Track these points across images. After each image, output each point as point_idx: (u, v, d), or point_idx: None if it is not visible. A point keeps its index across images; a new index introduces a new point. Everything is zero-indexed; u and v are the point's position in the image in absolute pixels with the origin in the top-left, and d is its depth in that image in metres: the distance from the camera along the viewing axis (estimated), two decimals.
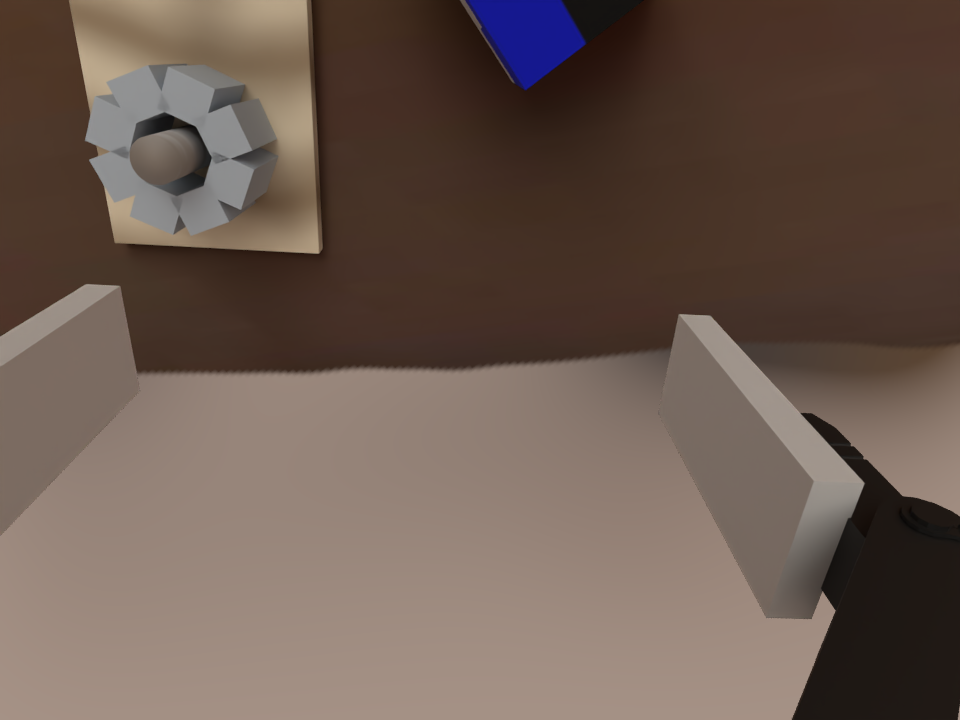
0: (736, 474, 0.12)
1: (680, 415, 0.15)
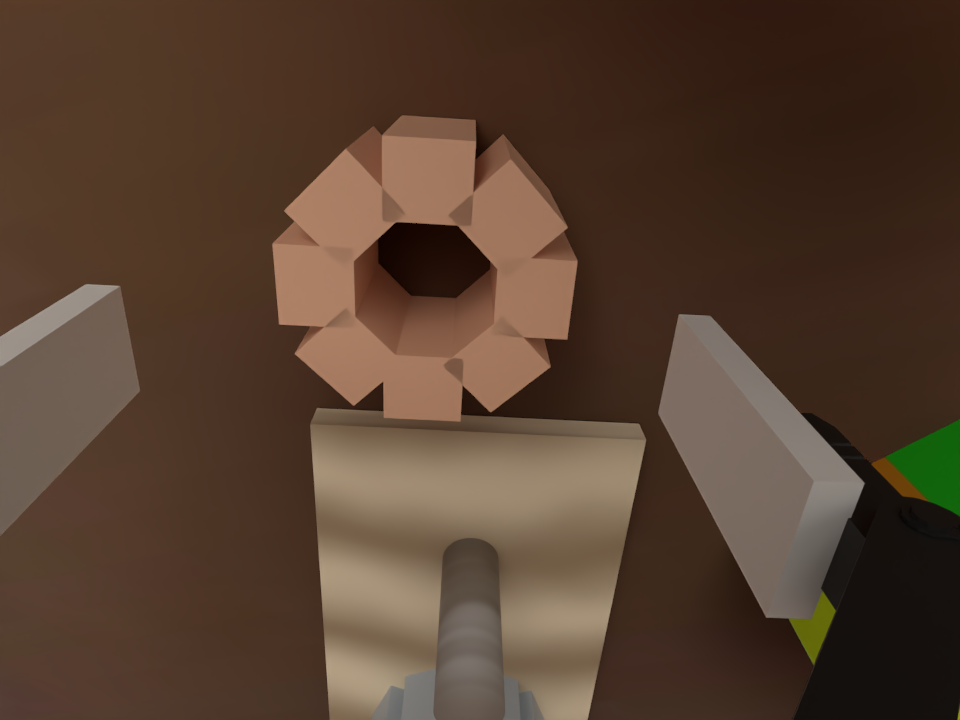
0: (736, 474, 0.12)
1: (680, 415, 0.15)
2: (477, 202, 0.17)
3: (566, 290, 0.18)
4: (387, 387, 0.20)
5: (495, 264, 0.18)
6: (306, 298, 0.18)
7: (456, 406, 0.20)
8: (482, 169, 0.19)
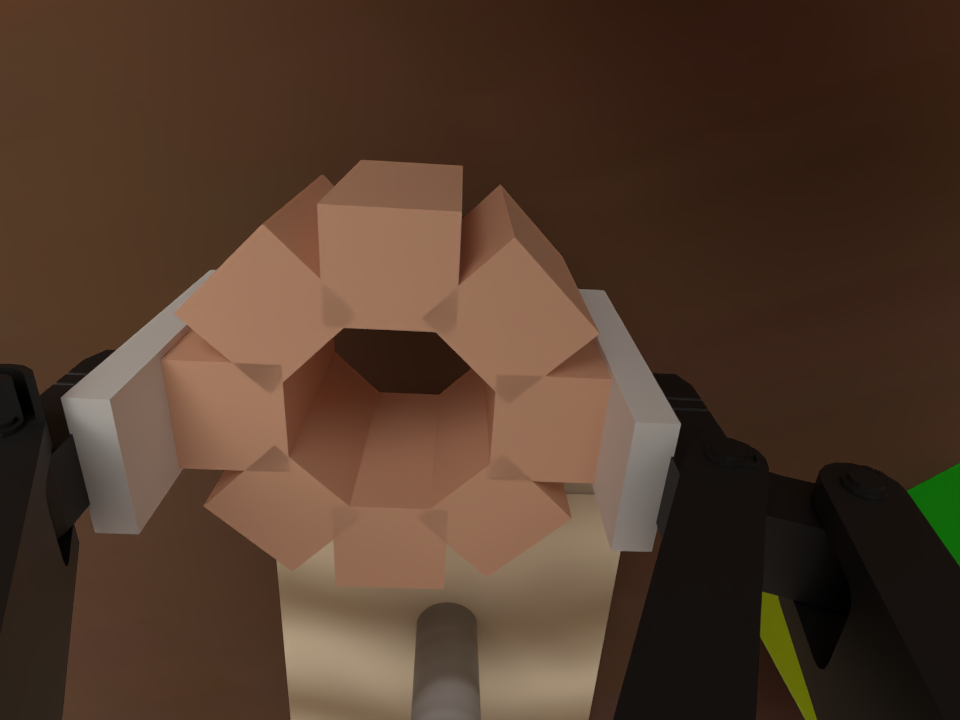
0: None
1: None
2: (465, 299, 0.11)
3: (595, 419, 0.12)
4: (339, 548, 0.14)
5: (492, 385, 0.12)
6: (214, 432, 0.12)
7: (438, 570, 0.14)
8: (472, 241, 0.13)
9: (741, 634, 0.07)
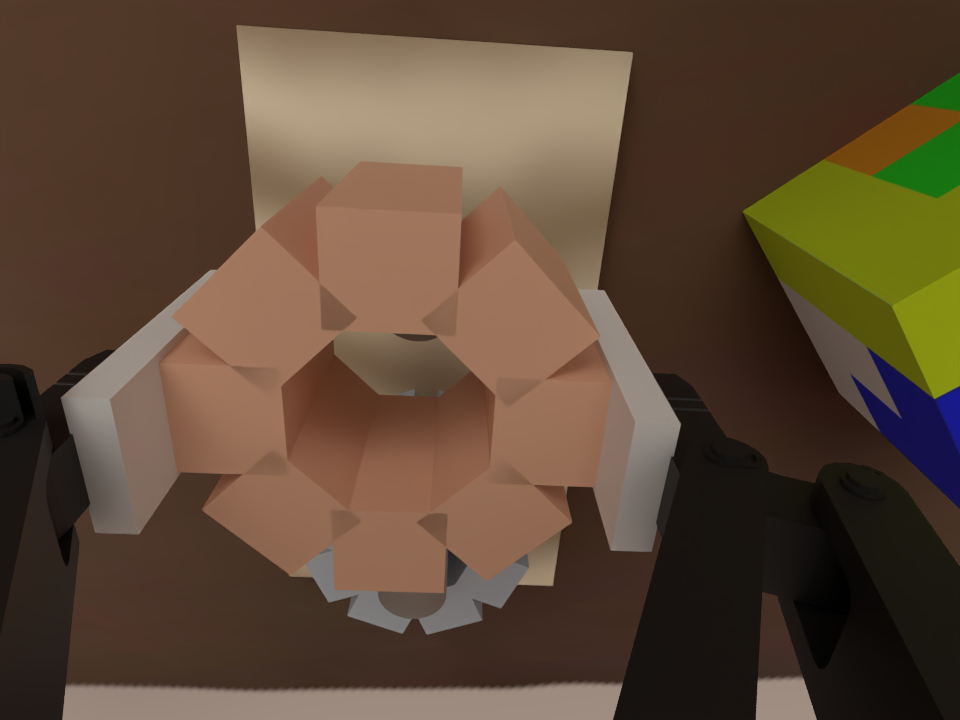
0: None
1: None
2: (465, 302, 0.11)
3: (596, 422, 0.12)
4: (338, 551, 0.14)
5: (492, 388, 0.12)
6: (213, 436, 0.12)
7: (437, 574, 0.14)
8: (472, 243, 0.13)
9: (741, 634, 0.07)
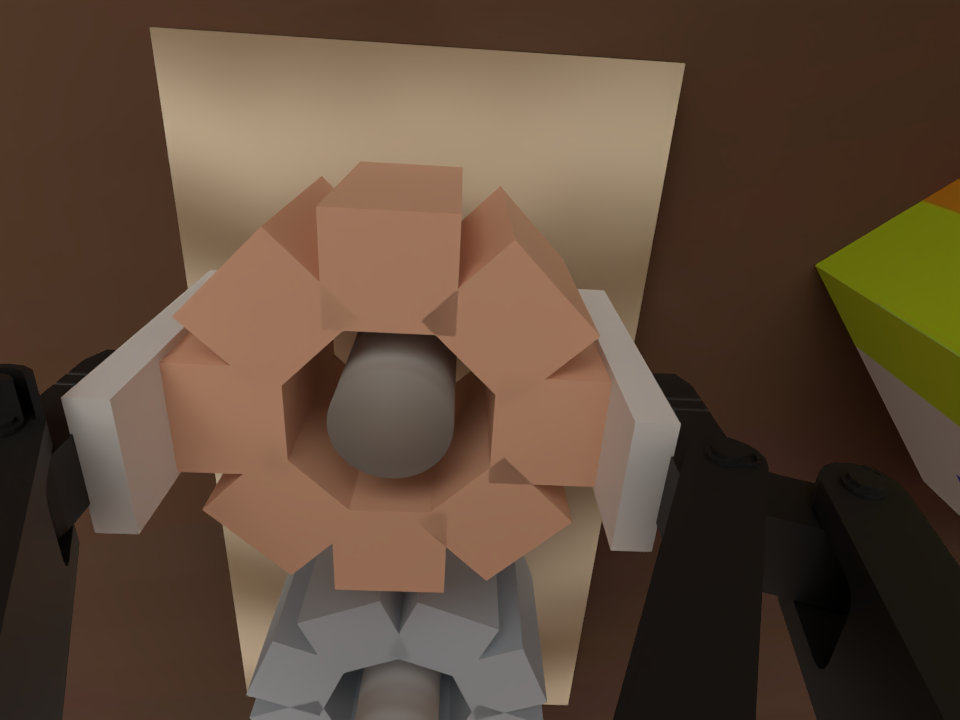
0: None
1: None
2: (465, 302, 0.11)
3: (596, 422, 0.12)
4: (338, 551, 0.14)
5: (492, 388, 0.12)
6: (214, 436, 0.12)
7: (437, 574, 0.14)
8: (472, 243, 0.13)
9: (741, 634, 0.07)
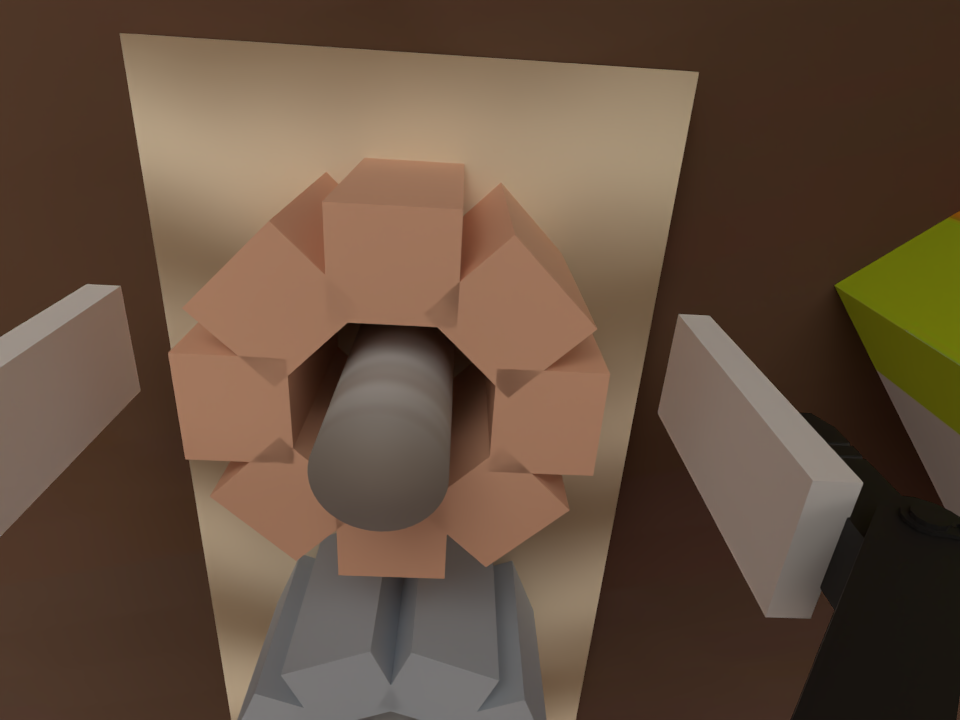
0: (735, 474, 0.12)
1: (679, 415, 0.15)
2: (466, 295, 0.12)
3: (593, 412, 0.13)
4: (342, 537, 0.14)
5: (492, 379, 0.12)
6: (221, 424, 0.13)
7: (438, 560, 0.14)
8: (473, 238, 0.13)
9: None
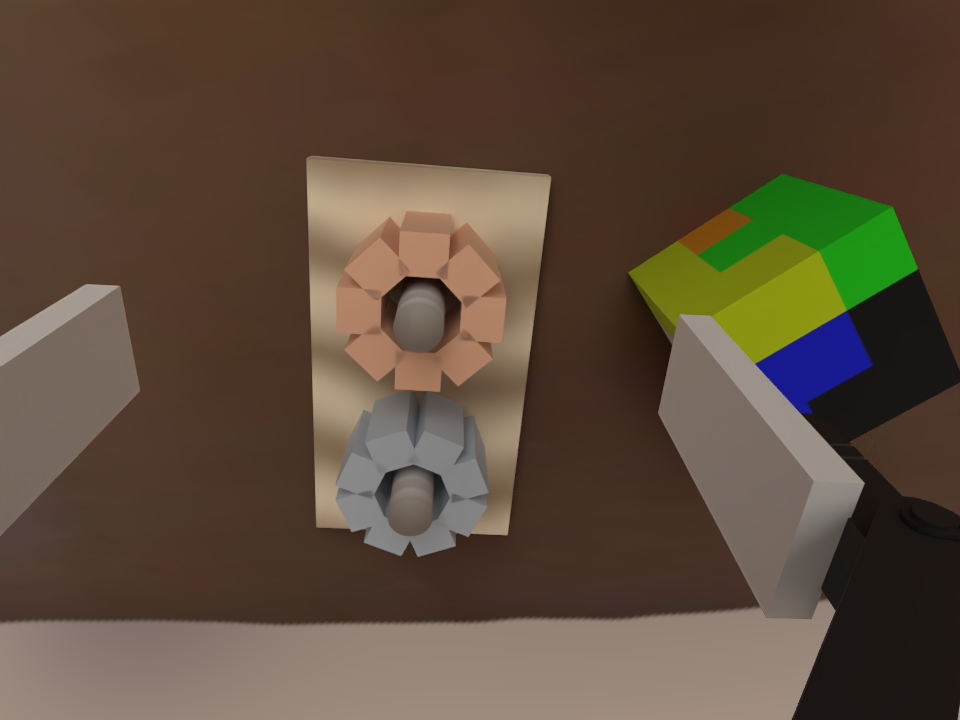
0: (736, 474, 0.12)
1: (680, 415, 0.15)
2: (451, 266, 0.31)
3: (500, 314, 0.32)
4: (397, 370, 0.33)
5: (460, 300, 0.32)
6: (353, 317, 0.32)
7: (437, 382, 0.34)
8: (454, 245, 0.33)
9: None
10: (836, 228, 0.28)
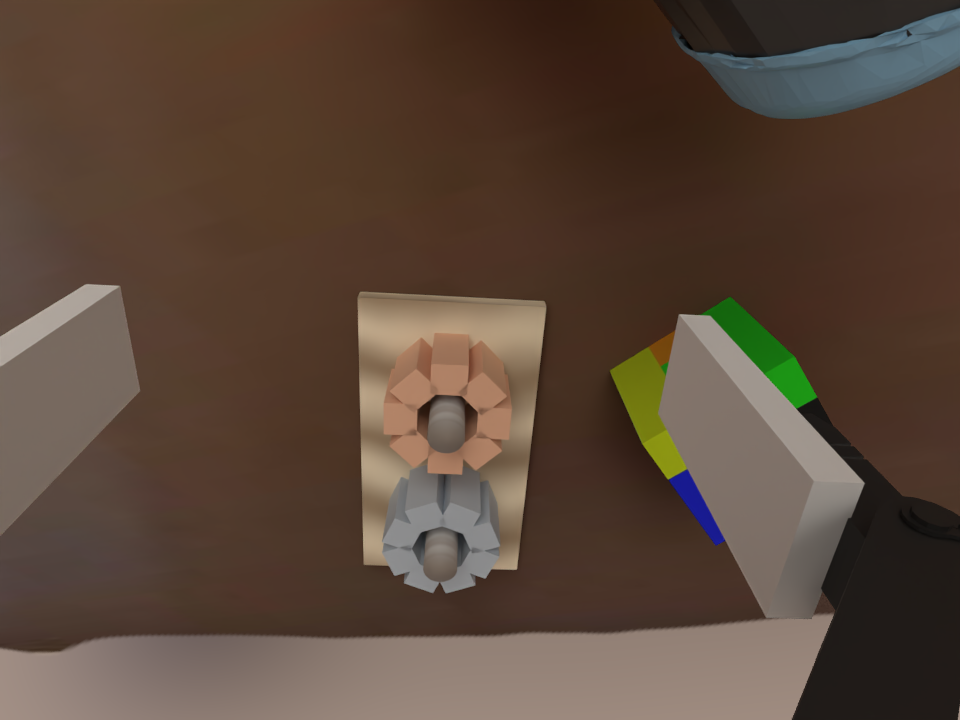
0: (736, 474, 0.12)
1: (680, 415, 0.15)
2: (469, 387, 0.41)
3: (507, 420, 0.42)
4: (429, 460, 0.44)
5: (477, 410, 0.42)
6: (396, 423, 0.42)
7: (460, 468, 0.44)
8: (471, 366, 0.43)
9: None
10: None
